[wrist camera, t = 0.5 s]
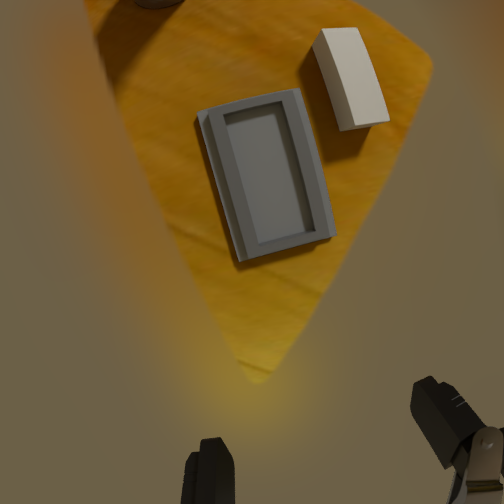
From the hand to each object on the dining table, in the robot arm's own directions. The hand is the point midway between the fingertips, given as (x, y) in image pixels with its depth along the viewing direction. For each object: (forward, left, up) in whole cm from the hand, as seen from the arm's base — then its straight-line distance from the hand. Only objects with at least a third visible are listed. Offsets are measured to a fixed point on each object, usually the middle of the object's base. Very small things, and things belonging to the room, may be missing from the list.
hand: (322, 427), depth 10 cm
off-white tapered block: (-18, +15, -26) cm, 35 cm away
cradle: (-9, +3, -26) cm, 28 cm away
